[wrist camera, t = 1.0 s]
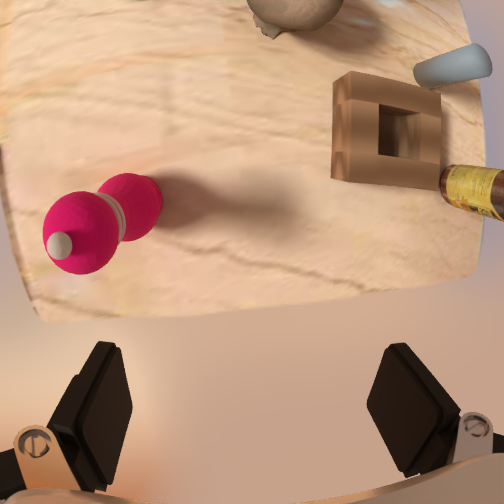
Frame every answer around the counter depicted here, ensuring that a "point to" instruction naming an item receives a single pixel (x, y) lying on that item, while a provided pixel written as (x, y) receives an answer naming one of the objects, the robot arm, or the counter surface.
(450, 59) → the peg
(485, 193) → the sauce bottle
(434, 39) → the counter surface
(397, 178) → the socket block
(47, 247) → the pepper mill
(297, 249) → the counter surface
